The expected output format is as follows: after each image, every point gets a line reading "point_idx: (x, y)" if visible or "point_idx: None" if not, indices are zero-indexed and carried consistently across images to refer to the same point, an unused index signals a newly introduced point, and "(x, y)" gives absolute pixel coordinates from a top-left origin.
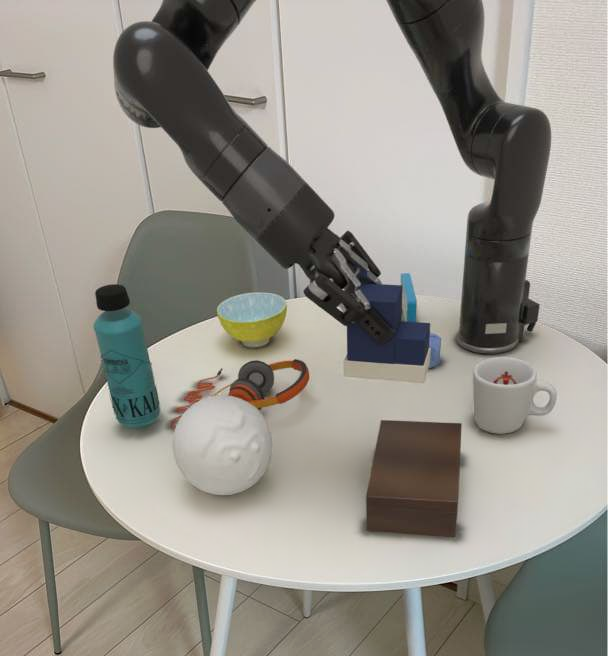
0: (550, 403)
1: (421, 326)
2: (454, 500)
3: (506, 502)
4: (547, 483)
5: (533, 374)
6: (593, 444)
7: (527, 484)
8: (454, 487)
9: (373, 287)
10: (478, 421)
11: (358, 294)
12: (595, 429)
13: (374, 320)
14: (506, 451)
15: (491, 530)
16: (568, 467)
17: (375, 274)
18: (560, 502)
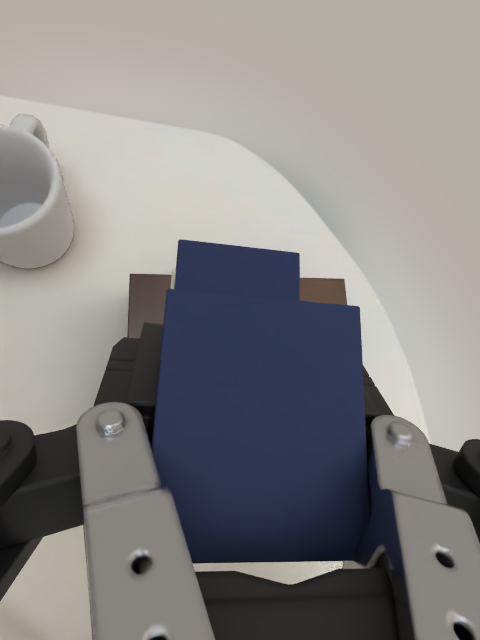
0: (44, 136)
1: (208, 264)
2: (342, 283)
3: (240, 236)
4: (192, 185)
5: (10, 130)
6: (91, 118)
7: (197, 208)
8: (313, 283)
9: (204, 434)
10: (51, 260)
11: (429, 487)
12: (49, 109)
13: (377, 400)
14: (116, 228)
15: (299, 256)
16: (152, 156)
17: (34, 450)
18: (231, 175)
